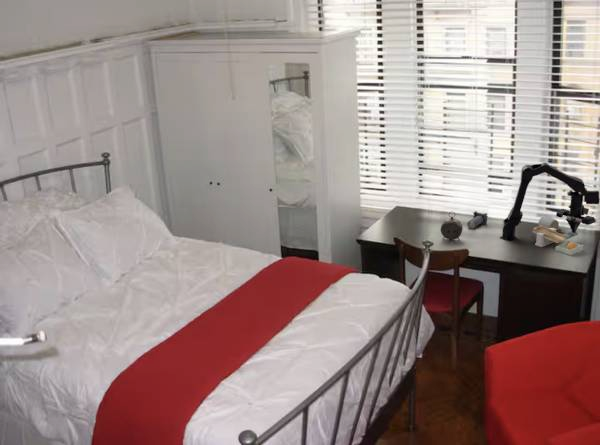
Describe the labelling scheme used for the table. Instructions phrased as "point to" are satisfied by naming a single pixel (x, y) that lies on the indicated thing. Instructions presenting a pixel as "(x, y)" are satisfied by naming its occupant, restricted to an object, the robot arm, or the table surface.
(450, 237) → the alarm clock
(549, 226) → the ceramic mug
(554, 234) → the lever
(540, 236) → the stand
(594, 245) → the table surface
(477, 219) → the camera
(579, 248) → the tray
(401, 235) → the table surface
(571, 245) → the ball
